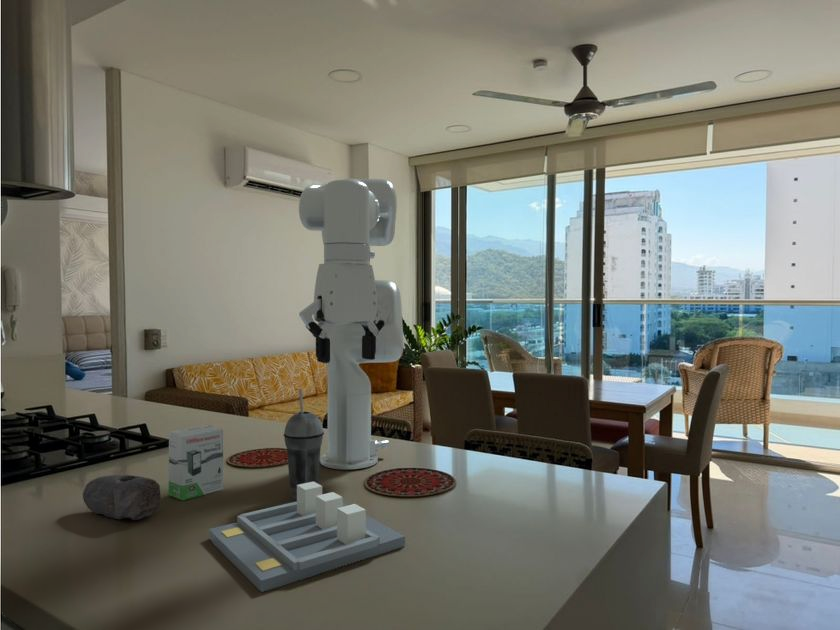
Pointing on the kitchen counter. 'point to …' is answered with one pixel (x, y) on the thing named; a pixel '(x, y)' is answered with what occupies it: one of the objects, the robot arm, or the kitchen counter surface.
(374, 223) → the robot arm
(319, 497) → the tab
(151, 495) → the perforated stone tool
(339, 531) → the tab
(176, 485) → the ink box
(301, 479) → the beverage cup
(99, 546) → the kitchen counter surface
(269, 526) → the switch board
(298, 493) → the tab
